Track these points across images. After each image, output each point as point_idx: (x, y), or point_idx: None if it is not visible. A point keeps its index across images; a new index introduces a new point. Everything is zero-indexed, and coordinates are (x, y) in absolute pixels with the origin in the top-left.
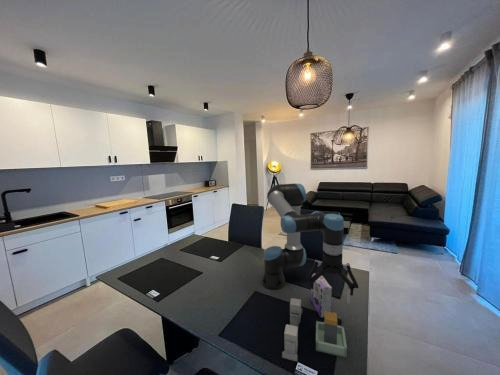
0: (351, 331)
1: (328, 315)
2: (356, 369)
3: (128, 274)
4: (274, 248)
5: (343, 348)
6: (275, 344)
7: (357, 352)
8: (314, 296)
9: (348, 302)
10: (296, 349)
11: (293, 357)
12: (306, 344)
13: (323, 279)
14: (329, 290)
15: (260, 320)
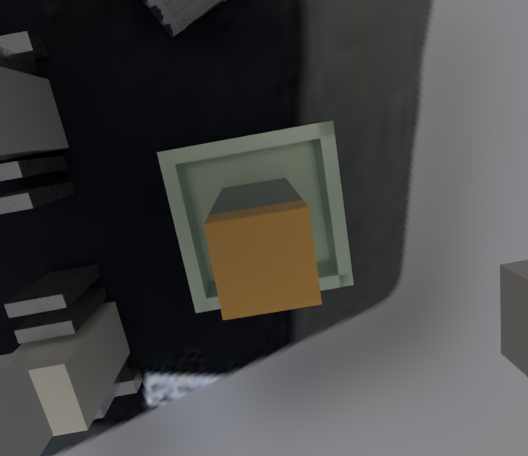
0: (365, 74)
1: (245, 269)
2: (379, 301)
3: None
4: None
5: (335, 286)
6: (16, 344)
7: (389, 211)
8: (34, 448)
9: (522, 362)
10: (118, 372)
11: (121, 392)
12: (152, 278)
13: None
14: None
15: None
